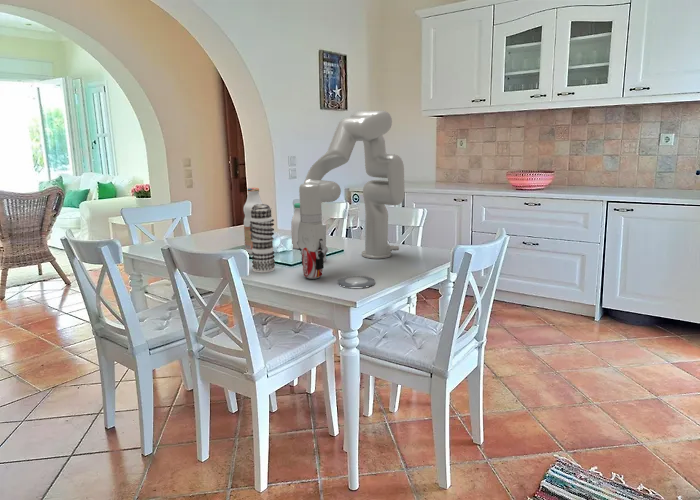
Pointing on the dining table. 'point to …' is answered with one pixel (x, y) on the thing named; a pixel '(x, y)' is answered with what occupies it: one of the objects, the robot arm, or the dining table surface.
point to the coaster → (356, 281)
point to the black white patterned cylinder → (262, 238)
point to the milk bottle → (295, 225)
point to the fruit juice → (251, 200)
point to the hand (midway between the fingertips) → (312, 266)
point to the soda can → (310, 264)
